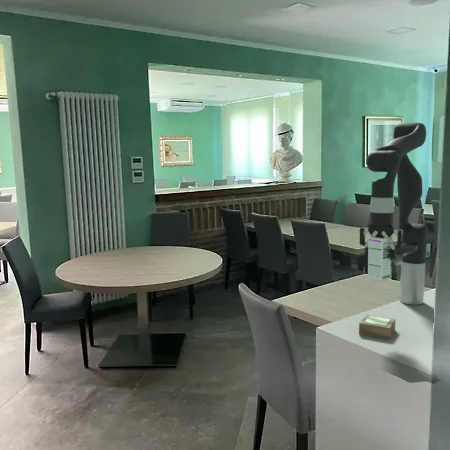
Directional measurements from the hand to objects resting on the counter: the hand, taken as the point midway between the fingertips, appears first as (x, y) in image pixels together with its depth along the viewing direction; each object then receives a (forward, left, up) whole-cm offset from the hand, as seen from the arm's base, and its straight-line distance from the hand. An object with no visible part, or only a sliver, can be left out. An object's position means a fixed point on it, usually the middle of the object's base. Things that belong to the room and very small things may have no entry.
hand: (380, 258), depth 158 cm
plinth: (0, 0, -26) cm, 26 cm away
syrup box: (0, 0, -7) cm, 7 cm away
